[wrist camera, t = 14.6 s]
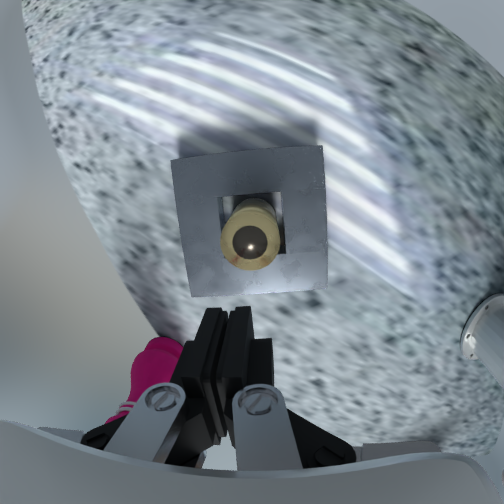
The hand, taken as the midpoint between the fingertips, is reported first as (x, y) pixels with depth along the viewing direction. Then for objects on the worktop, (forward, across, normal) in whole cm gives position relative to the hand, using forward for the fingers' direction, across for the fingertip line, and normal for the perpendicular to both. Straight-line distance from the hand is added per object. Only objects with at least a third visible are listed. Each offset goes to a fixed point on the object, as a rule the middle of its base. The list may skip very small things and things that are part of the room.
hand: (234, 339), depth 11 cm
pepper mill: (+22, +14, +18) cm, 32 cm away
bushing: (+22, 0, 0) cm, 22 cm away
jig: (+22, 0, 0) cm, 22 cm away
